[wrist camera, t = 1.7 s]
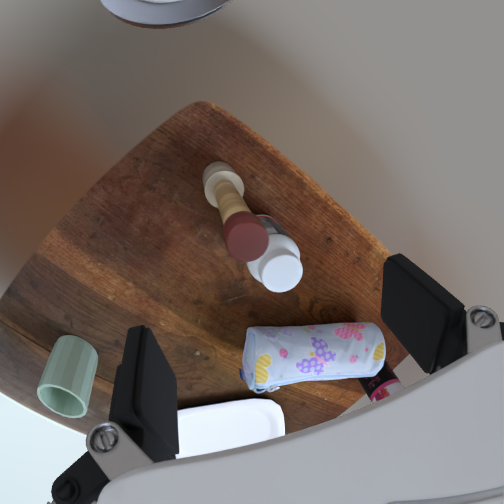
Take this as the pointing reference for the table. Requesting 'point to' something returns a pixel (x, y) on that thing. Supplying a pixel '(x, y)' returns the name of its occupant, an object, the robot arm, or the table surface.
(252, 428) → the plate
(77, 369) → the cup
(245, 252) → the wooden rod
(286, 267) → the pill bottle
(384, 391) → the beverage can
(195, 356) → the table surface
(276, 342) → the pencil case
